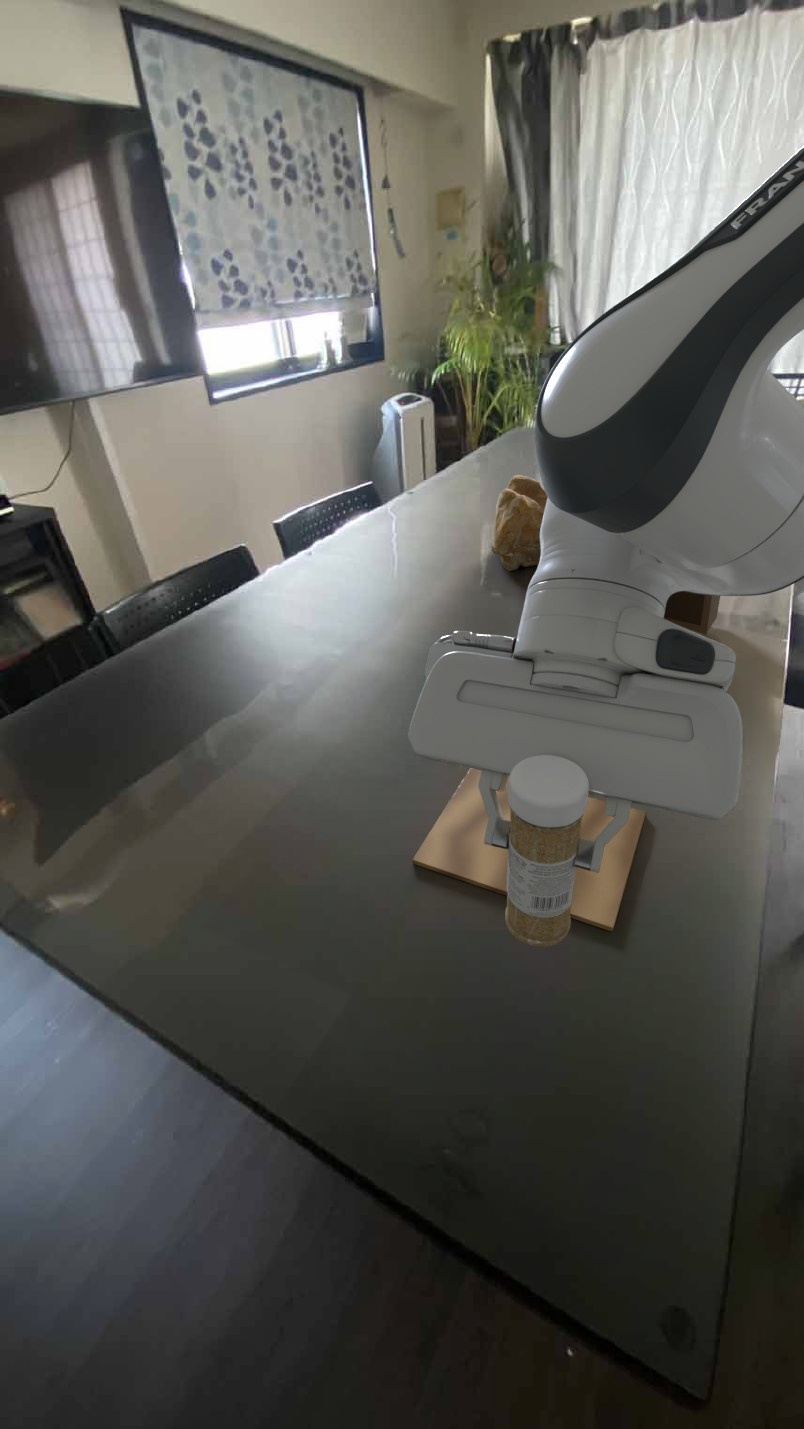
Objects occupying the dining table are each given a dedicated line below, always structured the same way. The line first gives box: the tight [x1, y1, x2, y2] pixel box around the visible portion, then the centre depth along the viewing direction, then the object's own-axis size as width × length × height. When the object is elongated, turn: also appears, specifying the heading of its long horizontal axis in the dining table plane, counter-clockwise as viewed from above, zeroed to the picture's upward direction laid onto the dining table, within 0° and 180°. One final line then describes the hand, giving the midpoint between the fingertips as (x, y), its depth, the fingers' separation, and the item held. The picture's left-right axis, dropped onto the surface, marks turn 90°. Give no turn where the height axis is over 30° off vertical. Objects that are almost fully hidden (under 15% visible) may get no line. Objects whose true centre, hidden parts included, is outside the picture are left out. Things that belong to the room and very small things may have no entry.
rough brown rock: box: [491, 474, 548, 572], centre depth 124 cm, size 23×17×15 cm
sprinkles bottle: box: [504, 755, 589, 948], centre depth 41 cm, size 5×5×14 cm
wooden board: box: [412, 768, 647, 933], centre depth 67 cm, size 20×16×1 cm
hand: (541, 858), depth 40 cm, fingers closed on sprinkles bottle, 4 cm apart
